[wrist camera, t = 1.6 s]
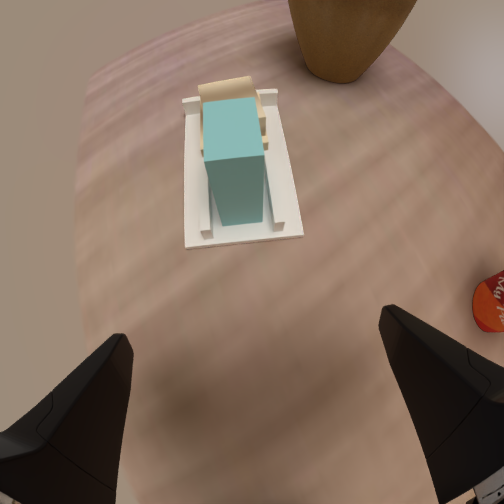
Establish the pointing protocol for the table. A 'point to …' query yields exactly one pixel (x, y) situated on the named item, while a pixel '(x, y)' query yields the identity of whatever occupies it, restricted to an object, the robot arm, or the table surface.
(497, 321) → the paper cup
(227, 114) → the teal rectangular block
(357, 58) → the plant pot
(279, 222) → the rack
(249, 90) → the offcut upper
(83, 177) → the table surface
